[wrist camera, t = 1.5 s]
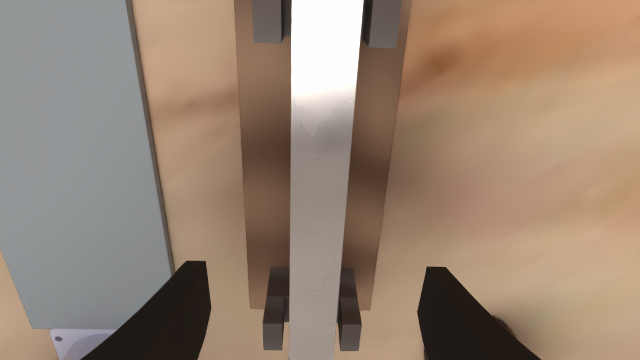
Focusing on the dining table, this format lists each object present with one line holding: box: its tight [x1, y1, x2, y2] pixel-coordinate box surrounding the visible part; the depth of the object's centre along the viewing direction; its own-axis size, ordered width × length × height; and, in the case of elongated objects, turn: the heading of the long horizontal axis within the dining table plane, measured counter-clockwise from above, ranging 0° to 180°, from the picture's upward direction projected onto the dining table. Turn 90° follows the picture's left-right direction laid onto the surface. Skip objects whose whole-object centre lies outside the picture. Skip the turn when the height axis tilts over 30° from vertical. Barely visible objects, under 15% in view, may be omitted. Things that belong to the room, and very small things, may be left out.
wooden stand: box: [234, 0, 411, 351], centre depth 20 cm, size 21×8×6 cm, turn 178°
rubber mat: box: [0, 0, 174, 329], centre depth 22 cm, size 26×10×1 cm, turn 178°
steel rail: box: [289, 0, 363, 360], centre depth 18 cm, size 23×2×2 cm, turn 178°
